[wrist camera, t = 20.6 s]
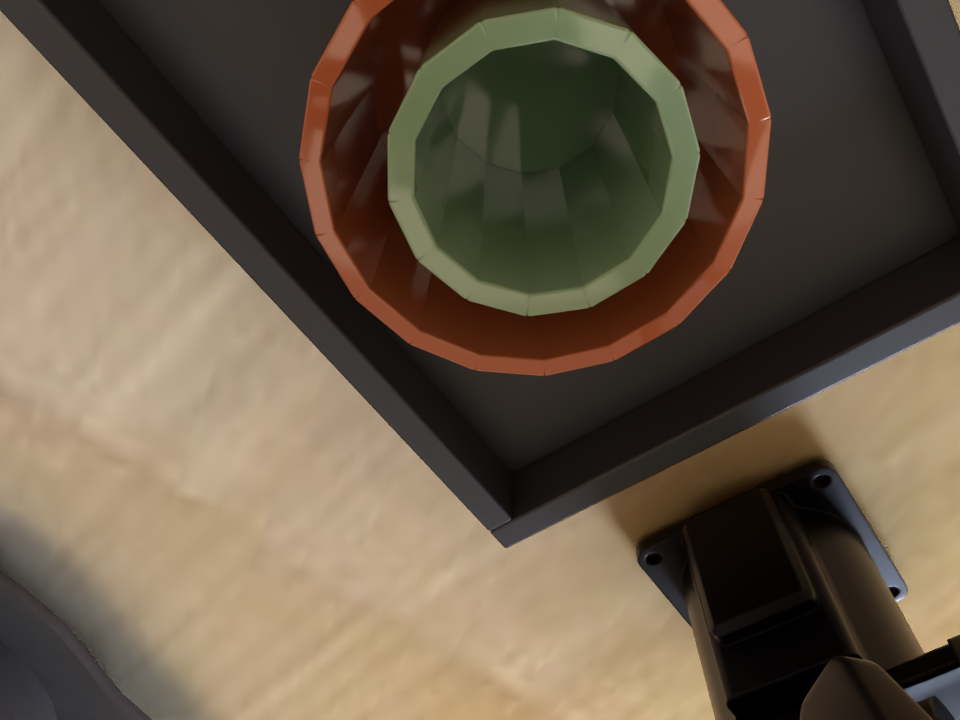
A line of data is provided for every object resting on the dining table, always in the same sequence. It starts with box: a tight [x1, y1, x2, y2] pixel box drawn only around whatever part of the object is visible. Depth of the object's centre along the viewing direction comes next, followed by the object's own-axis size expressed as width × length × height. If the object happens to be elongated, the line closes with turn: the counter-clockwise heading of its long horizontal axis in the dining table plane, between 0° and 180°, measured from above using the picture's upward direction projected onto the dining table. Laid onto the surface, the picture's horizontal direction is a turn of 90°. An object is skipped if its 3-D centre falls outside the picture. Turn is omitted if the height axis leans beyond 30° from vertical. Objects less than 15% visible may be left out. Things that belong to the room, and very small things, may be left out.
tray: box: [0, 0, 960, 548], centre depth 17 cm, size 20×15×2 cm
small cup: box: [387, 0, 700, 316], centre depth 14 cm, size 4×4×6 cm
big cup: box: [299, 0, 771, 376], centre depth 15 cm, size 7×7×6 cm
